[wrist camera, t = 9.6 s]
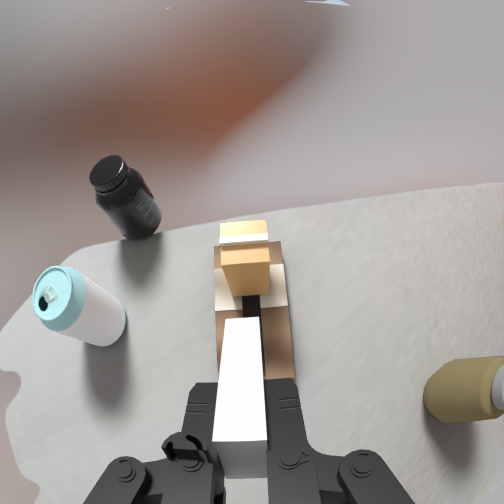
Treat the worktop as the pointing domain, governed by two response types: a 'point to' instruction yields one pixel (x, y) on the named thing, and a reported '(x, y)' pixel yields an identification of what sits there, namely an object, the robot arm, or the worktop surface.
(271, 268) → the console
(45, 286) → the can
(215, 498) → the robot arm
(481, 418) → the squeeze bottle
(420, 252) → the worktop surface
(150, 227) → the supplement bottle
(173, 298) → the worktop surface
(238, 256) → the fader tab
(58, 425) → the worktop surface
